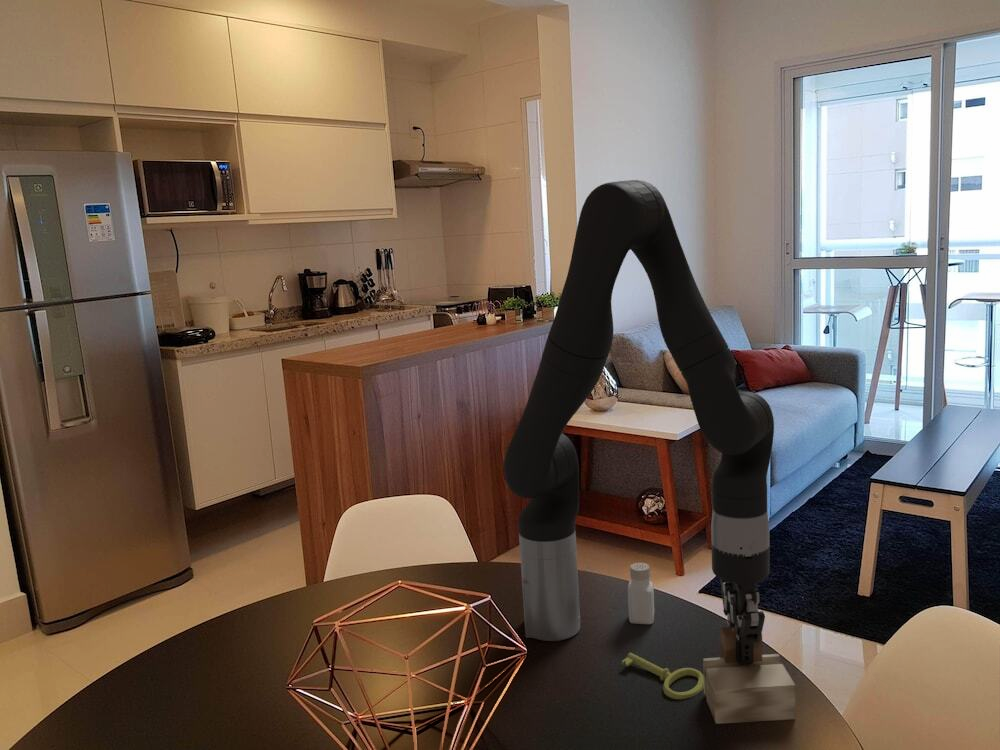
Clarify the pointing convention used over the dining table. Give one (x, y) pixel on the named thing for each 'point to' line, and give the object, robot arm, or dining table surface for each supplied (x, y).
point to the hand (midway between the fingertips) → (741, 656)
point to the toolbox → (750, 693)
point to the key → (669, 676)
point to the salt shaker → (640, 595)
